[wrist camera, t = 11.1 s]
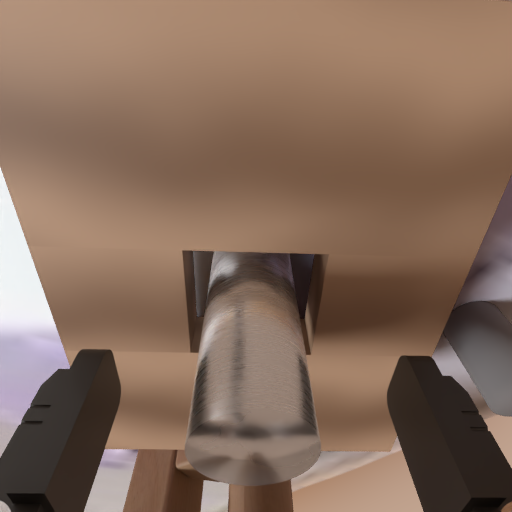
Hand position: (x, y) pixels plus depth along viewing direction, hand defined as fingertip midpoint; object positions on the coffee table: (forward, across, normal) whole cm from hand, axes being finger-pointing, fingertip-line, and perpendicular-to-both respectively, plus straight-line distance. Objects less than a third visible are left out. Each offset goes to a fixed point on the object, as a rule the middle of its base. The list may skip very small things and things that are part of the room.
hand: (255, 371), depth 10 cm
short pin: (+9, -13, +6) cm, 17 cm away
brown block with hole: (+9, 0, 0) cm, 9 cm away
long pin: (+9, 0, 0) cm, 9 cm away
